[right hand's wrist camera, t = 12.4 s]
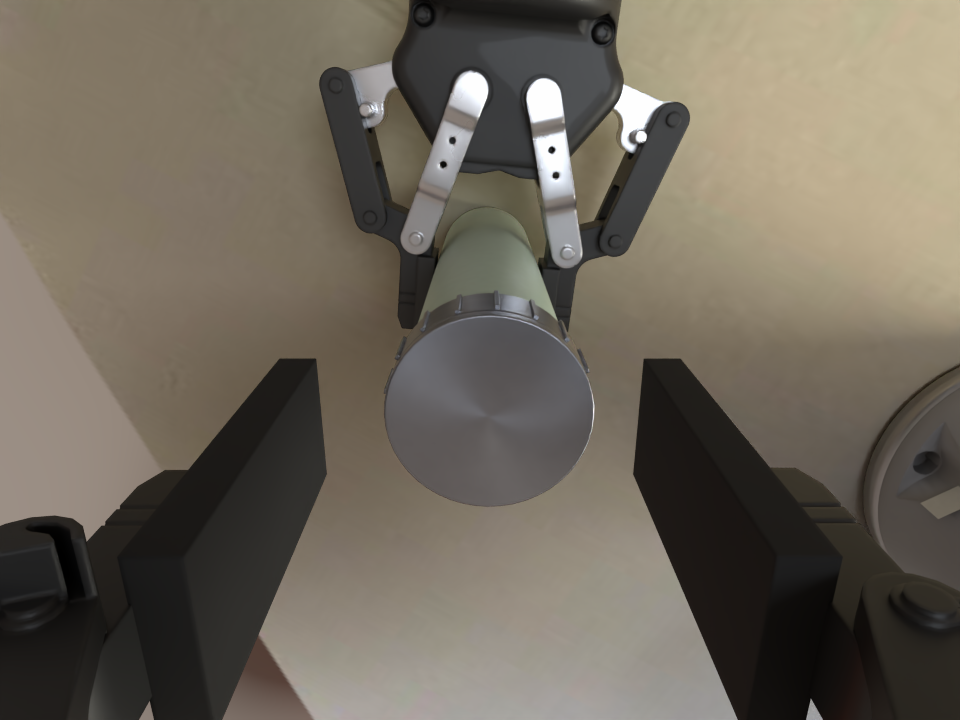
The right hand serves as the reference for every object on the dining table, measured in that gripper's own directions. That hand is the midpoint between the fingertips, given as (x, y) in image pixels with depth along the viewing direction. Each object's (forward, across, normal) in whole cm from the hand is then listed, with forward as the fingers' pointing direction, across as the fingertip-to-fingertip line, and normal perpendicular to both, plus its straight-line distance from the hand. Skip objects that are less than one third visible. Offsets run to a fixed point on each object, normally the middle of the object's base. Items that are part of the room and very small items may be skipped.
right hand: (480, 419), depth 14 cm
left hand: (+14, 0, -3) cm, 14 cm away
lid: (+1, 0, 0) cm, 1 cm away
